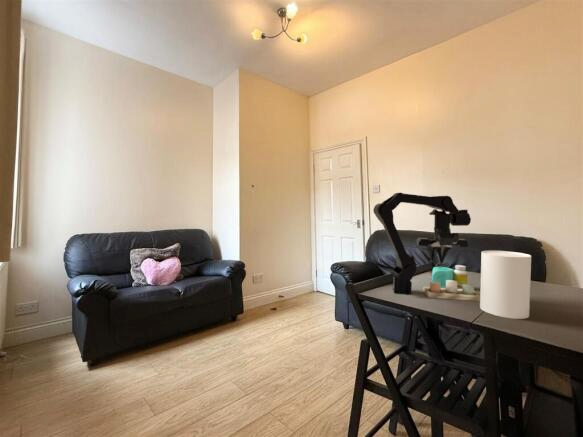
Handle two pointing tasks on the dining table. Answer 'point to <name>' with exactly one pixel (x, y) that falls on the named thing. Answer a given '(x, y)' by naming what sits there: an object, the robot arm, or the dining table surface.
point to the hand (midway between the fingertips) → (441, 262)
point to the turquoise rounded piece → (442, 275)
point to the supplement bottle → (460, 275)
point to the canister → (505, 283)
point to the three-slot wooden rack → (451, 294)
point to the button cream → (451, 286)
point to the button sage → (467, 289)
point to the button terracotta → (435, 287)
